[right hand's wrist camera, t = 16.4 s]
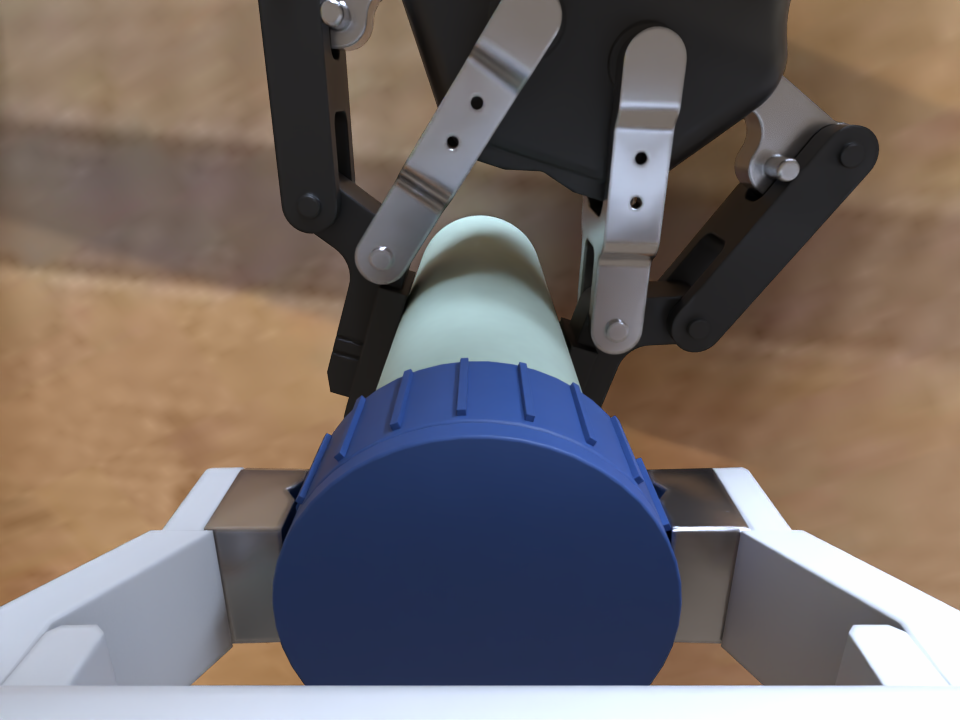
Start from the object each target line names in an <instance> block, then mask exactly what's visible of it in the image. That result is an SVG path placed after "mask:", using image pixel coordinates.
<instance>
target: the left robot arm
mask: <svg viewBox="0 0 960 720" xmlns="http://www.w3.org/2000/svg"><path fill="white" fill-rule="evenodd" d="M381 1H382V0H258V3H259V12H260V21H261V29H262V38H263V47H264V55H265V64H266V73H267V82H268V90H269V99H270V108H271V116H272V125H273V134H274V143H275V151H276V160H277V169H278V177H279V186H280V195H281V203H282V210H283V213H284V216H285V217H286V219H287V221H288V222H289V223H290V224H291V225H292V226H293V227H294V228H296V229H297V230H299V231H302V232H305V233H312V234H313V233H314V234H315V235H317V236H318V237H320V238H321V239H322V240H324V241H325V242H327V243H328V244H329V245H331V246H332V247H334V248H335V249H336V250H337V251H338V252H339V253H340V254H341V255H342V256H343V257H344V259H345V260H346V262H347V265H348V268H349V272H350V283H349V288H348V292H347V296H346V300H345V304H344V308H343V312H342V315H341V319H340V323H339V327H338V331H337V336H336V339H335V343H334V347H333V352H332V355H331V359H330V363H329V367H328V371H327V374H328V380H329V386H330V392H333V393H336V394H340V395H343V396H347V397H349V399H348V403H347V407H346V410H345V415H344V418H345V417H346V416H347V415H348V414H349V413H350V412H351V411H352V410H353V407H354V405H355V402H356V400H357V399H358V398H359V397H360V396H363V397H364V398H367V397H368V396H369V395H371V394H372V393H373V392H375V391H376V389H377V386H378V383H379V380H380V377H381V374H382V371H383V369H384V366H385V363H386V360H387V357H388V354H389V351H390V349H391V346H392V343H393V340H394V337H395V334H396V331H397V328H398V326H399V323H400V320H401V318H402V315H403V312H404V309H405V306H406V303H407V300H408V297H409V294H410V291H411V287H412V284H413V281H414V277H415V274H416V272H413V271H410V270H409V268H410V264H411V262H412V260H413V259H414V257H415V255H416V254H417V252H418V251H419V249H420V248H421V246H422V244H423V243H424V241H425V240H426V238H427V236H428V235H429V233H430V232H431V230H432V229H433V227H434V225H435V224H436V222H437V221H438V219H439V217H440V216H441V214H442V213H443V211H444V210H445V208H446V207H447V206H448V205H449V203H450V202H451V200H452V199H453V197H454V196H455V194H456V192H457V191H458V189H459V188H460V186H461V185H462V183H463V181H464V180H465V178H466V177H467V175H468V173H469V172H470V170H471V169H472V167H473V166H474V164H475V162H476V161H480V162H483V163H486V164H489V165H493V166H496V167H499V168H502V169H505V170H527V171H541V172H544V173H546V174H547V175H549V176H550V177H552V178H553V179H555V180H556V181H558V182H559V183H561V184H562V185H564V186H565V187H567V188H568V189H570V190H571V191H573V192H575V193H578V194H581V195H583V204H582V218H581V228H582V251H581V262H580V274H579V285H578V297H577V306H576V308H575V311H574V314H573V316H572V319H571V320H568V319H565V318H562V317H561V320H560V322H559V323H560V327H561V330H562V333H563V336H564V339H565V342H566V345H567V348H568V351H569V354H570V357H571V360H572V363H573V366H574V369H575V372H576V375H577V378H578V381H579V384H580V387H581V390H582V393H583V394H584V395H586V396H587V397H589V398H590V399H591V400H593V401H594V402H595V403H596V404H597V405H598V406H599V407H600V408H601V406H602V404H603V402H604V399H605V397H606V395H607V392H608V390H609V387H610V385H611V383H612V380H613V378H614V376H615V373H616V371H617V368H618V366H619V364H620V362H621V361H622V360H623V358H624V357H625V356H626V355H627V354H628V353H630V352H631V351H633V350H634V349H637V348H639V347H642V346H648V345H668V344H677V345H678V346H679V347H680V348H681V349H683V350H685V351H688V352H701V351H704V350H707V349H709V348H710V347H712V346H713V345H714V344H715V343H716V342H717V341H718V340H719V339H720V338H721V337H722V336H723V335H724V334H725V332H726V331H727V330H728V329H729V328H730V327H731V326H732V325H733V323H734V322H735V321H736V320H737V319H738V318H739V317H740V316H741V315H742V313H743V312H744V311H745V310H746V309H747V308H748V307H749V306H750V305H751V303H752V302H753V301H754V300H755V299H756V298H757V297H758V296H759V295H760V293H761V292H762V291H763V290H764V289H765V288H766V287H767V286H768V285H769V283H770V282H771V281H772V280H773V279H774V278H775V277H776V276H777V275H778V273H779V272H780V271H781V270H782V269H783V268H784V267H785V266H786V265H787V263H788V262H789V261H790V260H791V259H792V258H793V257H794V256H795V254H796V253H797V252H798V251H799V250H800V249H801V248H802V247H803V246H804V244H805V243H806V242H807V241H808V240H809V239H810V238H811V237H812V236H813V234H814V233H815V232H816V231H817V230H818V229H819V228H820V227H821V226H822V224H823V223H824V222H825V221H826V220H827V219H828V218H829V217H830V216H831V214H832V213H833V212H834V211H835V210H836V209H837V208H838V207H839V206H840V204H841V203H842V202H843V201H844V200H845V199H846V198H847V197H848V196H849V194H850V193H851V192H852V191H853V190H854V189H855V188H856V187H857V185H858V184H859V183H860V182H861V181H862V180H863V179H864V178H865V177H866V175H867V174H868V173H869V172H870V171H871V170H872V168H873V167H874V165H875V163H876V161H877V158H878V154H879V144H878V140H877V138H876V136H875V135H874V133H873V132H872V131H871V130H870V129H868V128H866V127H863V126H859V125H849V124H846V123H842V122H836V121H834V120H833V119H832V118H831V117H830V116H828V115H827V114H826V113H825V112H824V111H823V110H822V109H820V108H819V107H818V106H817V105H816V104H815V103H814V102H812V101H811V100H810V99H809V98H808V97H807V96H806V95H804V94H803V93H802V92H801V91H800V90H799V89H798V88H796V87H795V86H794V85H793V84H792V83H791V82H790V81H789V80H787V79H786V78H785V77H784V76H783V73H784V70H785V67H786V62H787V54H788V49H787V19H788V11H789V6H790V1H791V0H402V1H403V4H404V7H405V10H406V13H407V16H408V19H409V22H410V25H411V28H412V31H413V34H414V37H415V40H416V43H417V46H418V49H419V52H420V55H421V58H422V61H423V64H424V67H425V70H426V73H427V76H428V79H429V82H430V85H431V88H432V91H433V94H434V98H435V101H436V104H437V107H438V109H437V110H436V112H435V114H434V115H433V117H432V119H431V120H430V122H429V124H428V125H427V127H426V129H425V131H424V132H423V134H422V136H421V137H420V139H419V141H418V142H417V144H416V146H415V147H414V149H413V151H412V152H411V154H410V156H409V157H408V159H407V161H406V163H405V164H404V166H403V168H402V169H401V171H400V173H399V175H398V177H397V179H396V181H395V183H394V184H393V186H392V188H391V189H390V191H389V193H388V195H387V196H386V198H385V200H384V201H383V203H382V204H381V203H380V202H379V201H377V200H376V199H375V198H373V197H372V196H371V195H369V194H368V193H367V192H365V191H364V190H363V189H361V188H360V187H359V186H357V185H356V184H355V172H354V159H353V146H352V132H351V119H350V105H349V92H348V78H347V65H346V52H345V51H351V50H355V49H358V48H360V47H362V46H363V45H364V44H365V43H366V42H367V41H368V39H369V38H370V36H371V33H372V30H373V22H374V15H375V11H376V9H377V7H378V5H379V3H380V2H381ZM743 118H744V119H745V122H746V126H747V134H746V139H745V142H744V144H743V146H742V148H741V149H740V151H739V152H738V154H737V157H736V160H735V173H736V176H737V178H738V180H739V181H740V183H739V184H738V185H737V187H736V188H735V189H734V190H733V191H732V193H731V194H730V195H729V196H728V197H727V199H726V200H725V201H724V202H723V203H722V205H721V206H720V207H719V208H718V209H717V211H716V212H715V213H714V214H713V215H712V217H711V218H710V219H709V220H708V221H707V223H706V224H705V225H704V226H703V227H702V229H701V230H700V231H699V232H698V233H697V235H696V236H695V237H694V238H693V239H692V241H691V242H690V243H689V244H688V245H687V247H686V248H685V249H684V250H683V251H682V253H681V254H680V255H679V256H678V257H677V259H676V260H675V261H674V262H673V263H672V264H671V266H670V267H669V268H668V269H667V270H666V272H665V273H664V274H663V275H662V276H661V278H660V279H659V280H658V281H655V282H649V274H650V267H651V262H652V260H653V258H654V257H655V256H656V254H657V251H658V248H659V243H660V236H661V228H662V220H663V212H664V205H665V197H666V189H667V181H668V174H669V171H670V170H671V169H673V168H674V167H676V166H677V165H678V164H680V163H681V162H683V161H684V160H685V159H687V158H688V157H690V156H691V155H693V154H694V153H695V152H697V151H698V150H700V149H701V148H702V147H704V146H705V145H707V144H708V143H709V142H711V141H712V140H714V139H715V138H716V137H718V136H719V135H721V134H722V133H723V132H725V131H726V130H728V129H729V128H730V127H732V126H733V125H735V124H736V123H737V122H739V121H740V120H742V119H743ZM635 197H637V201H636V203H635Z"/></svg>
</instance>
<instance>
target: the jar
mask: <svg viewBox="0 0 960 720" xmlns="http://www.w3.org/2000/svg"><path fill="white" fill-rule="evenodd" d="M461 358H468V359H469V361H491V362H499V363H508V364H514V365H518V364H519V362H523V363H526V364H527V368H530V369H534V370H537V371H540V372H542V373H545V374H548V375H550V376H553V377H555V378H558V379H559V380H561V381H563V382H565V383H567V384H569V385H571V384H572V382H574V383H576V384H577V385H579V387H580V384H579V381H578V378H577V375H576V372H575V369H574V366H573V363H572V360H571V357H570V354H569V351H568V348H567V345H566V342H565V339H564V336H563V333H562V330H561V327H560V323H559V320H558V317H557V314H556V311H555V308H554V305H553V302H552V299H551V296H550V293H549V290H548V287H547V284H546V281H545V278H544V275H543V272H542V269H541V266H540V263H539V260H538V257H537V254H536V251H535V249H534V247H533V245H532V244H531V242H530V241H529V239H528V238H527V237H526V236H525V235H524V234H523V233H522V232H521V231H520V230H519V229H518V228H516V227H515V226H513V225H512V224H510V223H508V222H506V221H504V220H501V219H498V218H495V217H490V216H470V217H465V218H462V219H459V220H456V221H454V222H452V223H450V224H448V225H447V226H445V227H444V228H442V229H441V230H440V231H439V232H438V233H437V234H436V235H435V236H434V237H433V238H432V240H431V241H430V243H429V244H428V246H427V248H426V250H425V252H424V254H423V257H422V260H421V263H420V266H419V268H418V271H417V274H416V277H415V280H414V283H413V286H412V288H411V291H410V294H409V297H408V300H407V303H406V306H405V309H404V312H403V315H402V318H401V320H400V323H399V326H398V328H397V331H396V334H395V337H394V340H393V343H392V346H391V349H390V351H389V354H388V357H387V360H386V363H385V366H384V369H383V371H382V374H381V377H380V380H379V383H378V386H377V389H379V388H381V387H383V386H385V385H386V384H388V383H390V382H392V381H394V380H395V379H397V378H400V377H402V376H403V373H404V371H406V370H409V369H411V370H412V372H415V371H418V370H421V369H425V368H429V367H433V366H437V365H441V364H448V363H455V362H460V359H461ZM377 389H376V390H377ZM580 390H581V387H580ZM581 392H582V390H581Z"/></svg>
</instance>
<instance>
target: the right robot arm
mask: <svg viewBox="0 0 960 720" xmlns="http://www.w3.org/2000/svg"><path fill="white" fill-rule="evenodd" d="M309 470H310V469H275V468H245V469H244V468H242V467H235V468H211V469H207V470H206V471H205V472H204V473H203V474H202V476H201V477H200V479H199V480H198V481H197V483H196V484H195V485H194V487H193V488H192V489H191V491H190V492H189V494H188V495H187V496H186V498H185V499H184V500H183V502H182V503H181V504H180V506H179V507H178V509H177V510H176V511H175V513H174V514H173V515H172V517H171V518H170V519H169V521H168V522H167V524H166V525H165V526H164V528H163V529H162V530H150V531H149V532H147V533H145V534H143V535H141V536H139V537H137V538H135V539H133V540H131V541H129V542H127V543H125V544H123V545H121V546H119V547H117V548H115V549H113V550H111V551H109V552H107V553H105V554H103V555H101V556H99V557H97V558H95V559H93V560H91V561H89V562H87V563H85V564H84V565H82V566H80V567H78V568H76V569H74V570H72V571H70V572H68V573H66V574H64V575H62V576H60V577H58V578H56V579H54V580H52V581H50V582H48V583H46V584H44V585H42V586H40V587H38V588H36V589H34V590H32V591H30V592H28V593H26V594H24V595H22V596H20V597H18V598H17V599H15V600H13V601H11V602H9V603H7V604H5V605H3V606H1V607H0V720H960V611H959V610H957V609H955V608H953V607H951V606H949V605H947V604H945V603H943V602H941V601H939V600H937V599H935V598H933V597H931V596H930V595H928V594H926V593H924V592H922V591H920V590H918V589H916V588H914V587H912V586H910V585H908V584H906V583H904V582H902V581H900V580H898V579H896V578H894V577H893V576H891V575H889V574H887V573H885V572H883V571H881V570H879V569H877V568H875V567H873V566H871V565H869V564H867V563H865V562H863V561H861V560H859V559H858V558H856V557H854V556H852V555H850V554H848V553H846V552H844V551H842V550H840V549H838V548H836V547H834V546H832V545H830V544H828V543H826V542H824V541H822V540H821V539H819V538H817V537H815V536H813V535H811V534H809V533H807V532H805V531H803V530H791V528H790V527H789V526H788V524H787V523H786V521H785V520H784V519H783V517H782V516H781V515H780V513H779V512H778V510H777V509H776V508H775V506H774V505H773V503H772V502H771V501H770V499H769V498H768V497H767V495H766V494H765V492H764V491H763V490H762V488H761V487H760V486H759V484H758V483H757V481H756V480H755V479H754V477H753V476H752V474H751V473H750V472H749V470H747V469H745V468H743V467H733V468H700V469H659V470H647V472H648V475H649V477H650V479H651V482H652V484H653V486H654V489H655V491H656V493H657V496H658V498H659V500H660V502H661V505H662V507H663V509H664V512H665V514H666V516H667V519H668V521H669V523H670V526H671V530H669V531H666V534H667V536H668V539H669V541H670V544H671V547H672V549H673V552H674V554H675V557H676V560H677V564H678V569H679V574H680V579H681V594H682V606H681V613H680V620H679V627H678V630H677V633H676V636H675V640H674V642H687V643H722V644H721V647H722V648H724V649H725V650H726V651H727V652H728V653H729V654H730V655H731V656H732V657H733V658H734V659H736V660H737V661H738V662H739V663H740V664H741V665H742V666H743V667H744V668H745V669H746V670H747V671H749V672H750V673H751V674H752V675H753V676H754V677H755V678H756V679H757V680H758V681H759V682H761V683H762V684H763V685H764V686H190V685H191V684H192V683H193V682H195V681H196V680H197V679H198V678H199V677H200V676H201V675H202V674H203V673H204V672H206V671H207V670H208V669H209V668H210V667H211V666H212V665H213V664H214V663H215V662H216V661H218V660H219V659H220V658H221V657H222V656H223V655H224V654H225V653H226V652H227V651H229V650H230V649H231V648H232V647H233V645H232V643H265V642H280V639H279V635H278V632H277V629H276V625H275V618H274V612H273V605H272V598H273V579H274V573H275V568H276V563H277V559H278V557H279V554H280V551H281V548H282V546H283V543H284V540H285V538H286V536H287V533H288V531H289V529H290V526H291V525H292V522H293V519H294V517H295V515H296V505H297V502H295V501H296V498H297V496H298V494H299V492H300V490H301V487H302V485H303V483H304V481H305V478H306V476H307V474H308V472H309Z"/></svg>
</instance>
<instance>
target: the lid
mask: <svg viewBox="0 0 960 720" xmlns="http://www.w3.org/2000/svg"><path fill="white" fill-rule="evenodd" d="M295 502H297V505H296V515H295V517H294V519H293V522H292V525H291V526H290V529H289V531H288V533H287V536H286V538H285V540H284V543H283V546H282V548H281V551H280V554H279V557H278V559H277V563H276V568H275V573H274V579H273V598H272V605H273V612H274V618H275V625H276V629H277V632H278V635H279V639H280V642H281V645H282V648H283V650H284V652H285V654H286V656H287V658H288V660H289V662H290V664H291V666H292V667H293V669H294V670H295V672H296V673H297V675H298V676H299V678H300V679H301V680H302V682H303V683H304V685H305V686H649V685H650V684H651V683H652V682H653V680H654V679H655V677H656V676H657V674H658V673H659V671H660V670H661V668H662V667H663V665H664V663H665V661H666V659H667V657H668V655H669V653H670V650H671V648H672V646H673V643H674V640H675V636H676V633H677V630H678V627H679V620H680V613H681V606H682V594H681V579H680V574H679V569H678V564H677V560H676V557H675V554H674V552H673V549H672V547H671V544H670V541H669V539H668V536H667V534H666V531H669V530H671V526H670V523H669V521H668V519H667V516H666V514H665V512H664V509H663V507H662V505H661V502H660V500H659V498H658V496H657V493H656V491H655V489H654V486H653V484H652V482H651V479H650V477H649V475H648V472H647V470H646V468H645V465H644V463H643V461H642V459H641V458H638V459H635V457H634V454H633V452H632V450H631V448H630V445H629V443H628V441H627V438H626V436H625V433H624V431H623V429H622V426H621V424H620V421H619V420H618V418H617V417H616V416H613V417H612V418H610V417H609V415H608V414H606V413H605V412H604V411H603V410H602V409H601V408H600V407H599V406H598V405H597V404H596V403H595V402H594V401H593V400H591V399H590V398H589V397H587V396H586V395H584V394H583V393H582V392H581V390H580V387H579V385H577V384H576V383H574V382H572V384H571V385H569V384H567V383H565V382H563V381H561V380H559V379H558V378H555V377H553V376H550V375H548V374H545V373H542V372H540V371H537V370H534V369H530V368H527V364H526V363H523V362H519V364H518V365H514V364H508V363H499V362H491V361H469V359H468V358H461V359H460V362H455V363H448V364H441V365H437V366H433V367H429V368H425V369H421V370H418V371H415V372H412V370H411V369H409V370H406V371H404V373H403V376H402V377H400V378H397V379H395V380H394V381H392V382H390V383H388V384H386V385H385V386H383V387H381V388H379V389H377V390H376V391H375V392H373V393H372V394H371V395H369V396H368V397H367V398H364V397H363V396H360V397H359V398H358V399H357V400H356V402H355V405H354V407H353V410H352V411H351V412H350V413H349V414H348V415H347V416H346V417H345V418H344V419H343V421H342V422H341V423H340V425H339V426H338V427H337V428H336V430H335V431H334V432H333V434H332V435H330V434H328V433H327V434H326V435H325V437H324V438H323V441H322V443H321V445H320V447H319V449H318V452H317V454H316V456H315V458H314V461H313V463H312V465H311V467H310V470H309V472H308V474H307V476H306V478H305V481H304V483H303V485H302V487H301V490H300V492H299V494H298V496H297V498H296V501H295Z"/></svg>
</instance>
